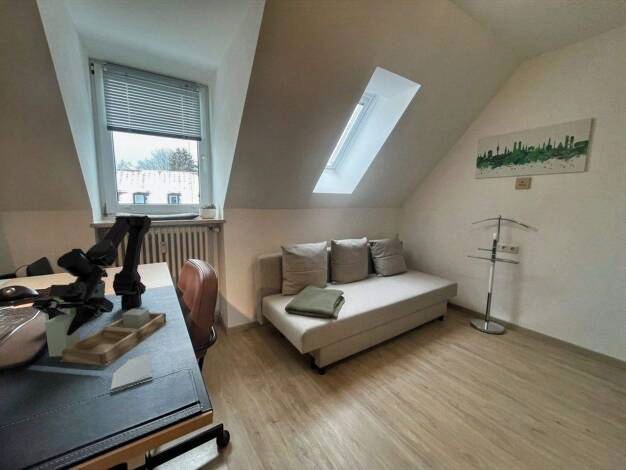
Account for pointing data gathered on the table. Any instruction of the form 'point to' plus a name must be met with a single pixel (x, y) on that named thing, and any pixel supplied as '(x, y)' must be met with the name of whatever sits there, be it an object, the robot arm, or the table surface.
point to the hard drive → (132, 372)
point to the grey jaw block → (135, 318)
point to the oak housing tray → (111, 341)
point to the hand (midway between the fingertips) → (58, 335)
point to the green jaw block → (60, 334)
